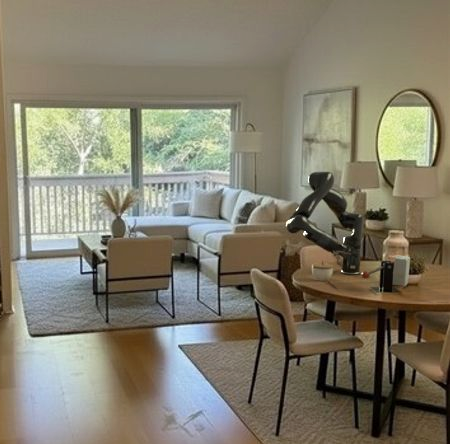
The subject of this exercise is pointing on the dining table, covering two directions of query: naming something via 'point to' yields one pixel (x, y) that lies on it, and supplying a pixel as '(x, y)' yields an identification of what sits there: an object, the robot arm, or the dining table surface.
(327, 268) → the trinket box
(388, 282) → the bracket
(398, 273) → the cosmetic box
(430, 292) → the dining table surface
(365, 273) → the lever
